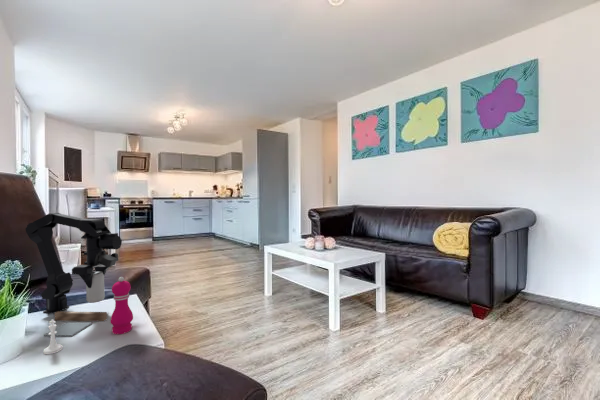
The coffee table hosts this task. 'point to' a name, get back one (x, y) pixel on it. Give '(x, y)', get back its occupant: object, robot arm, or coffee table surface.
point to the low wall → (80, 316)
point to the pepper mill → (121, 308)
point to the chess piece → (52, 340)
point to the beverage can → (96, 288)
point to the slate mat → (69, 329)
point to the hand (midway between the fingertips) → (95, 285)
